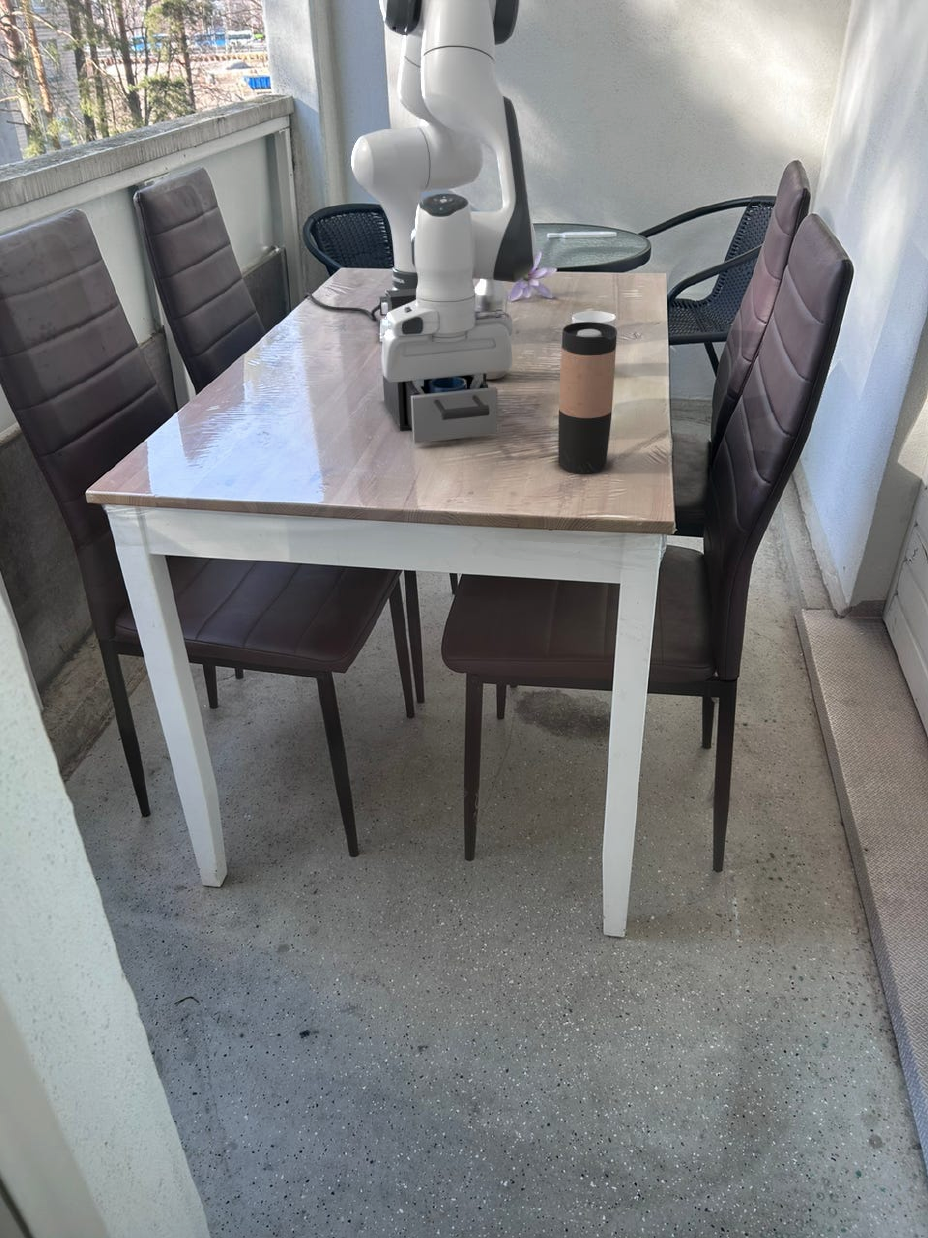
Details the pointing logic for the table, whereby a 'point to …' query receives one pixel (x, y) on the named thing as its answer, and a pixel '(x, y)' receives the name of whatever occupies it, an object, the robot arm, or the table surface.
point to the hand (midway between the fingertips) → (448, 403)
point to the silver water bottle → (491, 304)
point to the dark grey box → (397, 401)
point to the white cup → (594, 317)
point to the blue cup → (447, 385)
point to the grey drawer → (450, 412)
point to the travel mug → (586, 396)
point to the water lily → (532, 281)
